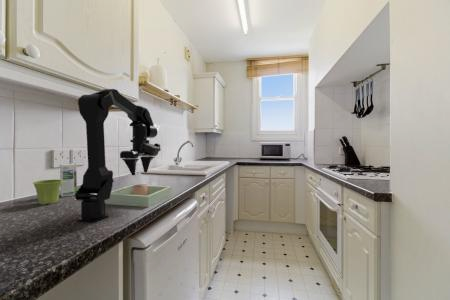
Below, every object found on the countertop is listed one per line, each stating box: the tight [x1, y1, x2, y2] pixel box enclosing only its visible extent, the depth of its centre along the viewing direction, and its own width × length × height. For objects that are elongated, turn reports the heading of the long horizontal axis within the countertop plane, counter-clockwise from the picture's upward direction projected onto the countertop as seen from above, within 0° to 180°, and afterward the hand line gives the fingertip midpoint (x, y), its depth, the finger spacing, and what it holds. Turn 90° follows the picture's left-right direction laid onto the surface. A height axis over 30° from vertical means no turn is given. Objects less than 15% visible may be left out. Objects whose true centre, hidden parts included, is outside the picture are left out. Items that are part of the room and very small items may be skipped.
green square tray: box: [105, 184, 173, 208], centre depth 99 cm, size 20×20×4 cm
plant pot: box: [32, 179, 62, 206], centre depth 92 cm, size 9×9×9 cm
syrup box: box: [59, 162, 78, 198], centre depth 106 cm, size 6×6×14 cm
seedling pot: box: [132, 183, 148, 196], centre depth 99 cm, size 6×6×6 cm
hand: (139, 173), depth 99 cm, fingers open, 9 cm apart
